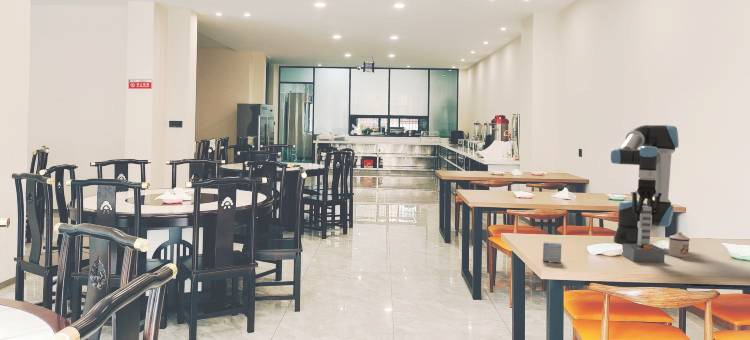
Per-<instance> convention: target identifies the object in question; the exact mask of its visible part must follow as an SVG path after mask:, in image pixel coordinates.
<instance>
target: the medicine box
mask: <svg viewBox="0 0 750 340" xmlns="http://www.w3.org/2000/svg"><path fill="white" fill-rule="evenodd" d="M542 246H543V248H542V262H543V261H551V262H550V263H553V262H560V263H559V264H561V261H562V242H555V241H554V242H553V241H544V242H543V245H542Z"/></svg>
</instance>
